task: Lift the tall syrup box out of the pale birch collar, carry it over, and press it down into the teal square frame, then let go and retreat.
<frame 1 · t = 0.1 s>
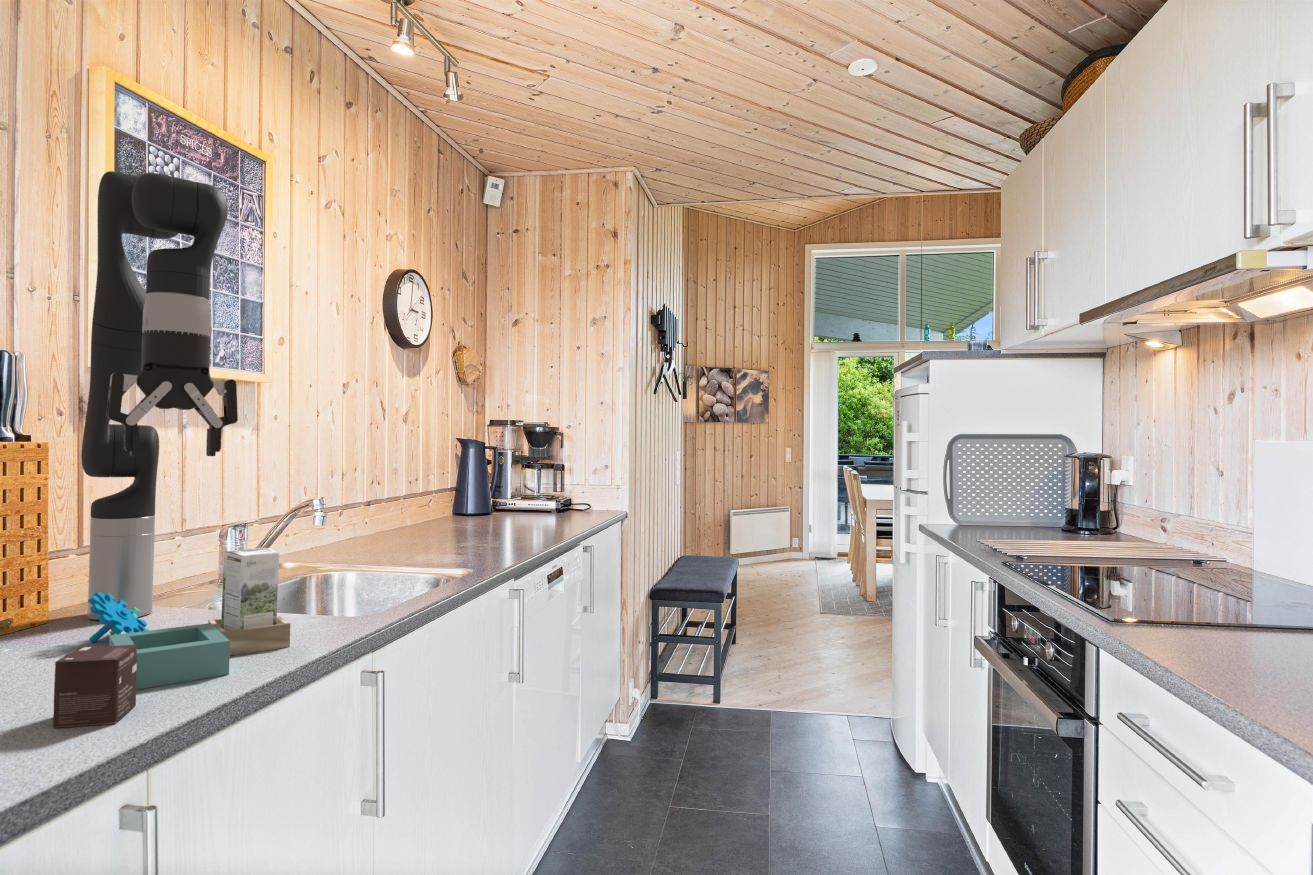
hand: (173, 456, 98), 29 cm above the counter, fingers open, 8 cm apart
teal square frame: (168, 671, 101), on the counter
gear: (119, 641, 116), on the counter
box: (95, 719, 85), on the counter
stand collar: (248, 644, 115), on the counter
syrup box: (248, 646, 115), resting in stand collar
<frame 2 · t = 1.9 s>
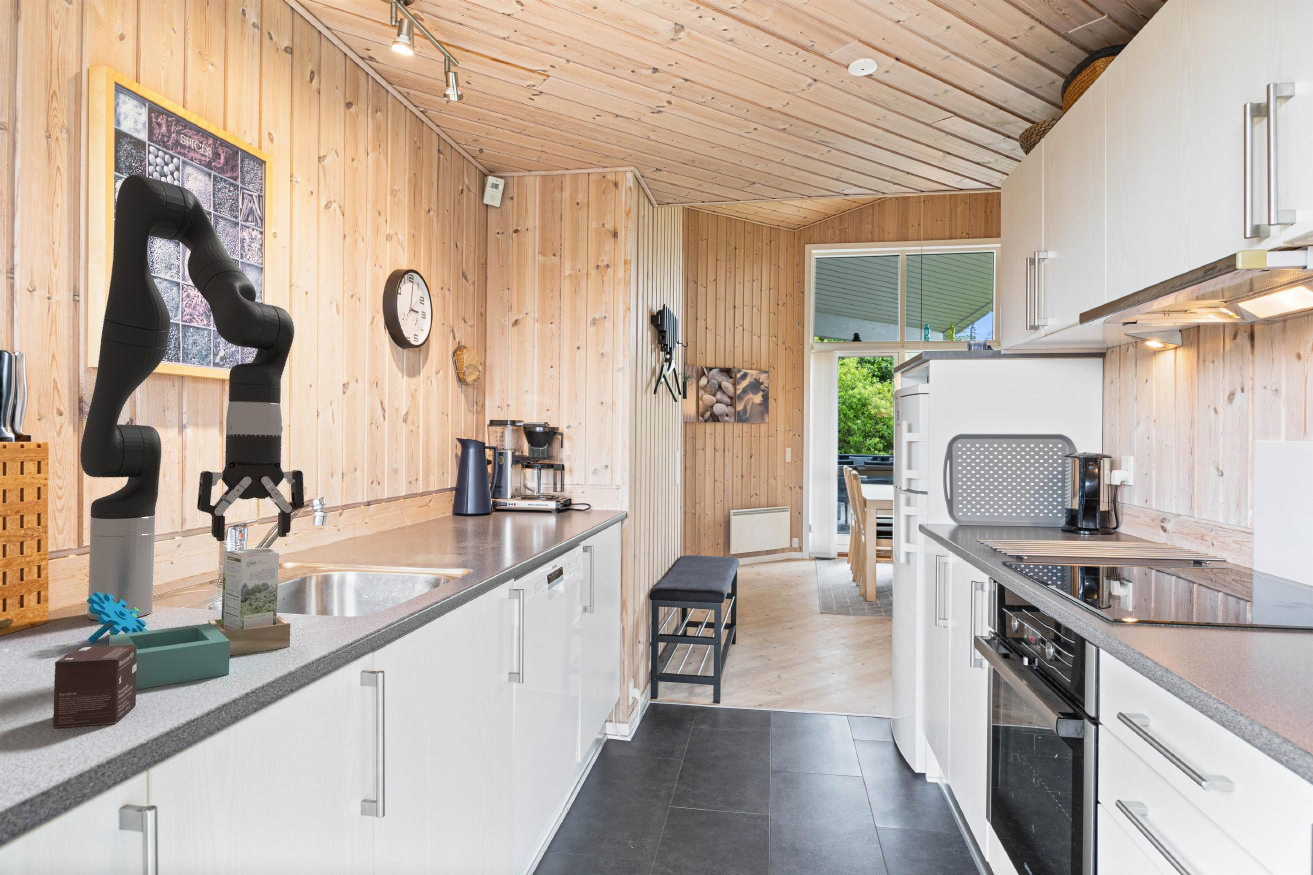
hand: (251, 538, 115), 16 cm above the counter, fingers open, 8 cm apart
nothing on the counter moved.
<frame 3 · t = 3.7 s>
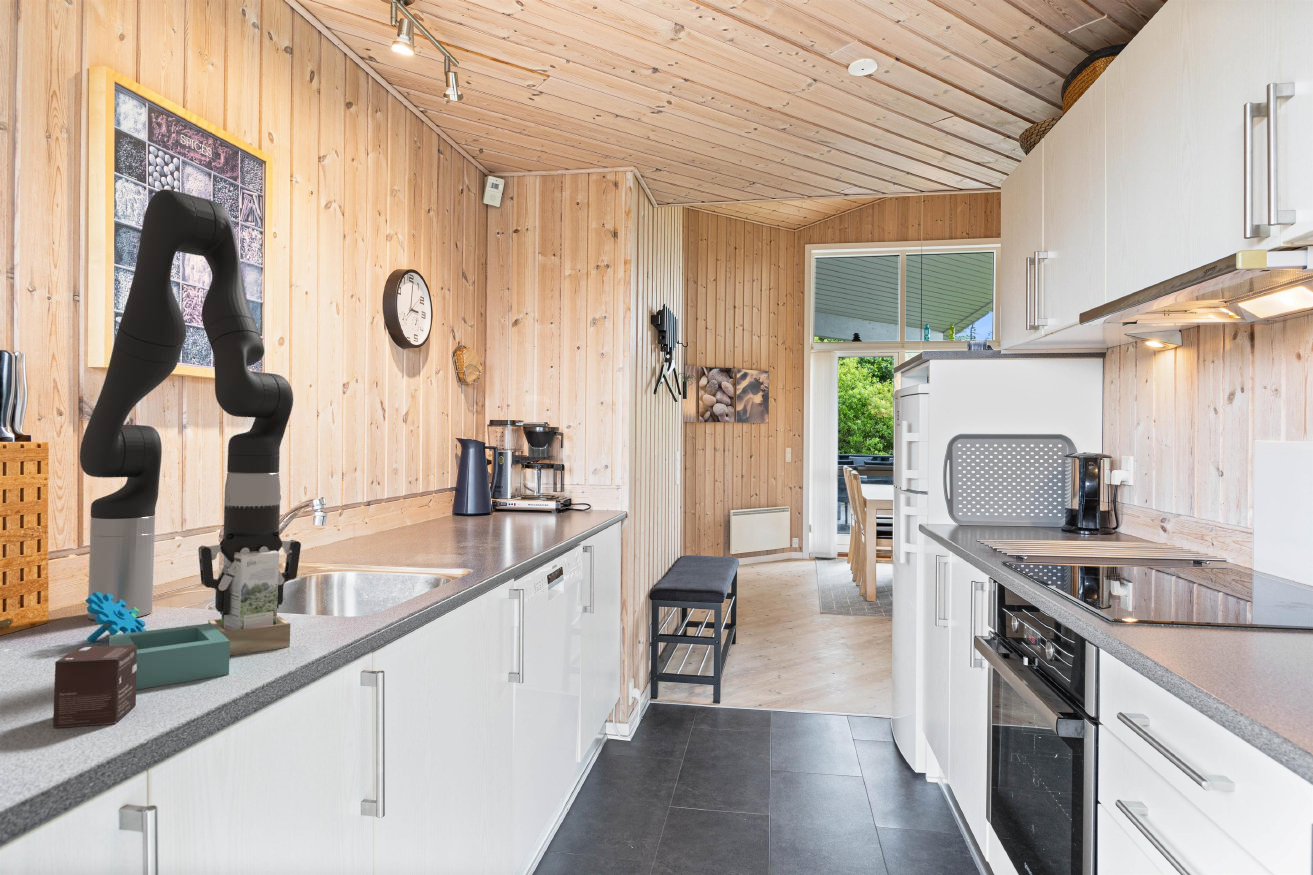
hand: (249, 610, 115), 5 cm above the counter, fingers closed on syrup box, 6 cm apart
syrup box: (248, 646, 115), resting in stand collar, touching gripper
everything else where it was.
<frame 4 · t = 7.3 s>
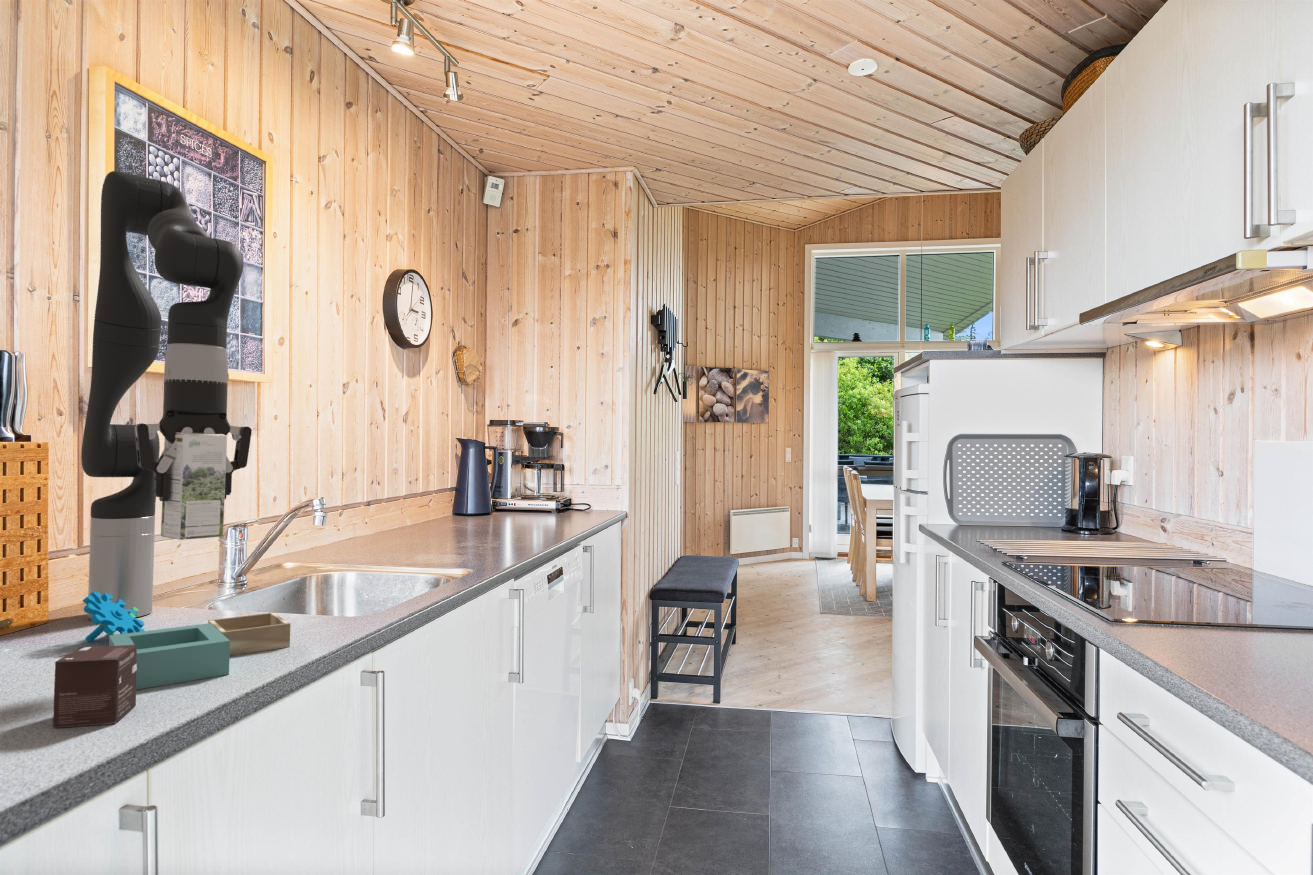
hand: (193, 499, 104), 23 cm above the counter, fingers closed on syrup box, 6 cm apart
syrup box: (192, 538, 104), point 18 cm above the counter, touching gripper
everything else where it was.
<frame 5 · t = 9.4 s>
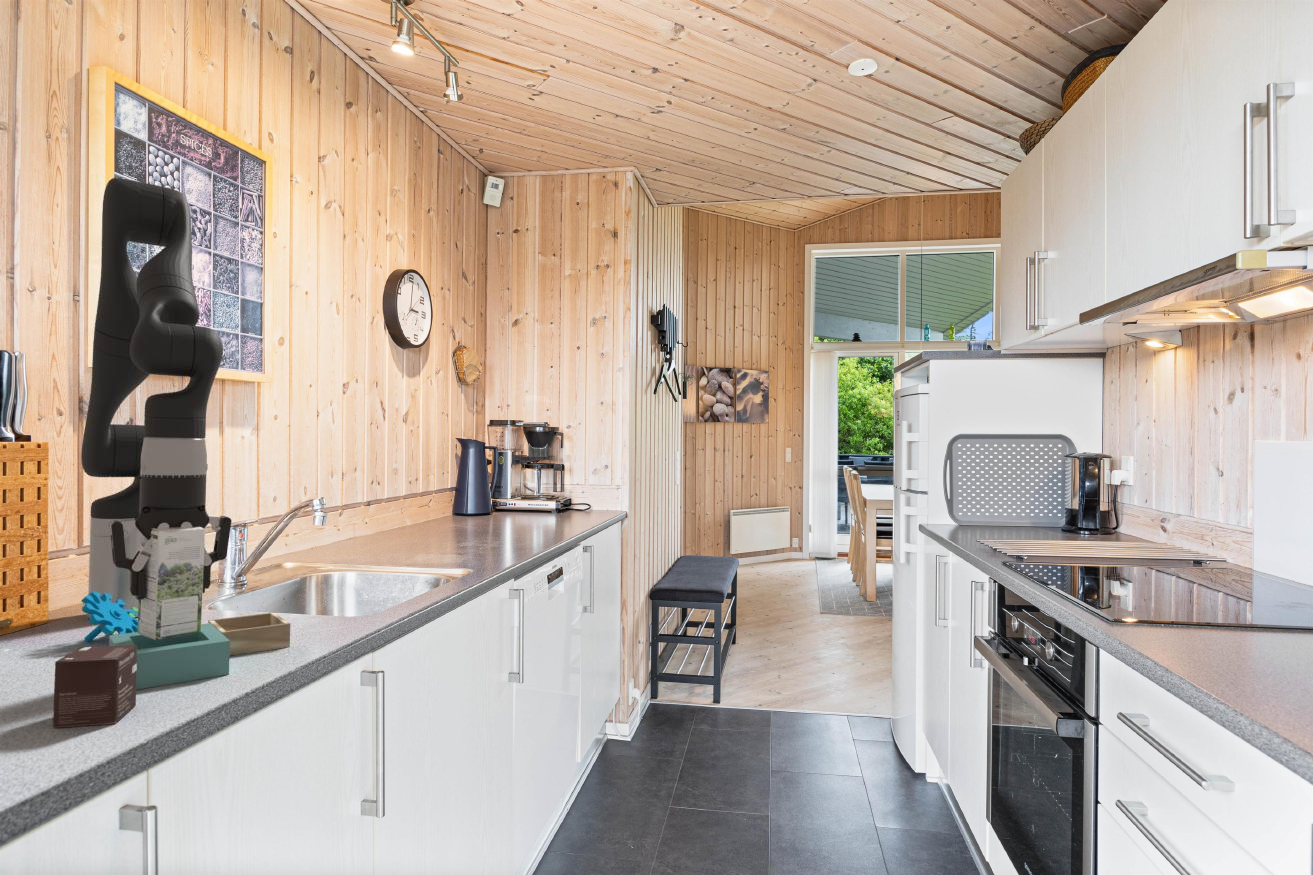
hand: (170, 595, 101), 10 cm above the counter, fingers closed on syrup box, 6 cm apart
syrup box: (169, 635, 101), point 5 cm above the counter, touching gripper
everything else where it was.
when the fingers open (6 cm above the counter, at t = 10.9 s): syrup box stays where it is, resting in teal square frame.
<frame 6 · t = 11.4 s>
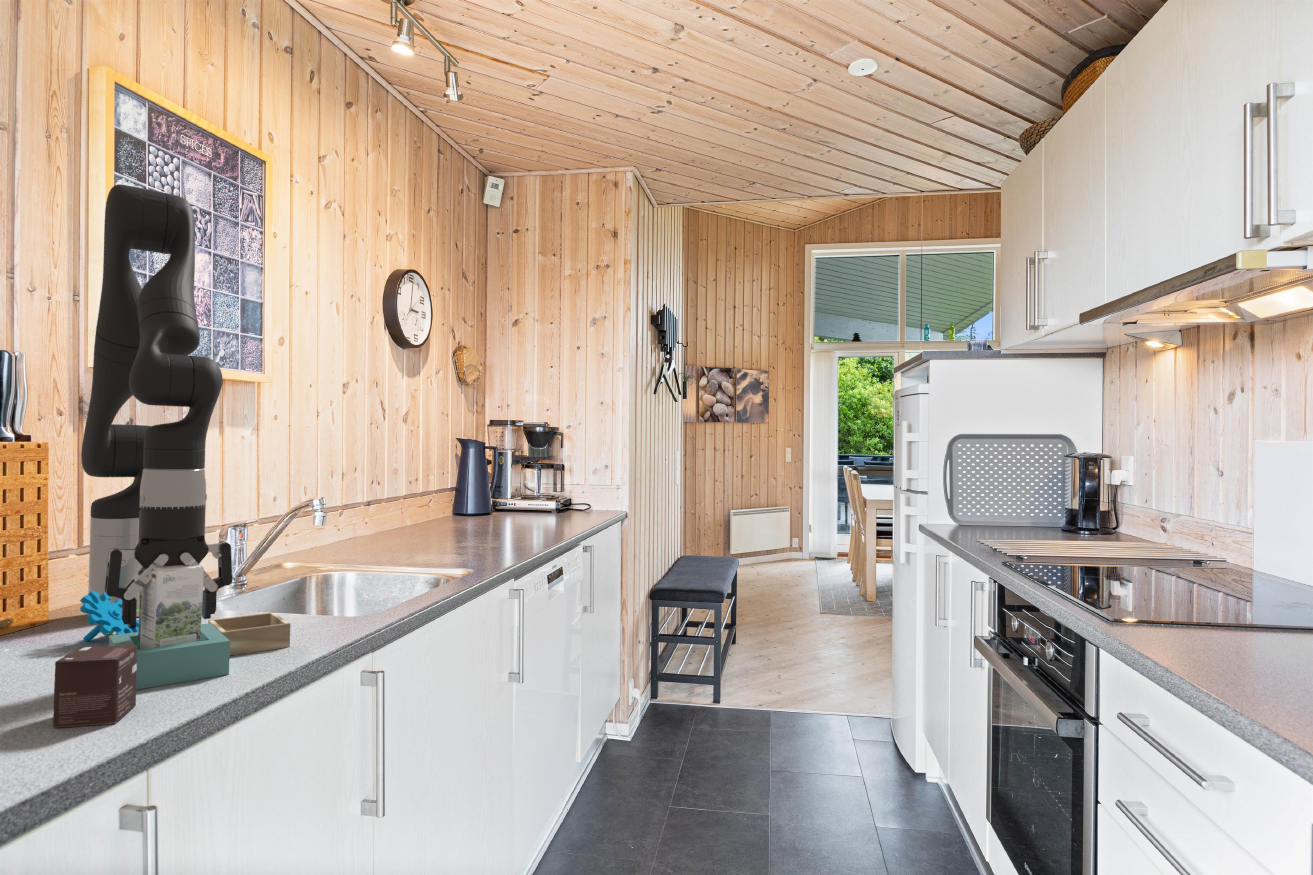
hand: (169, 622, 101), 7 cm above the counter, fingers open, 8 cm apart
syrup box: (168, 672, 101), resting in teal square frame
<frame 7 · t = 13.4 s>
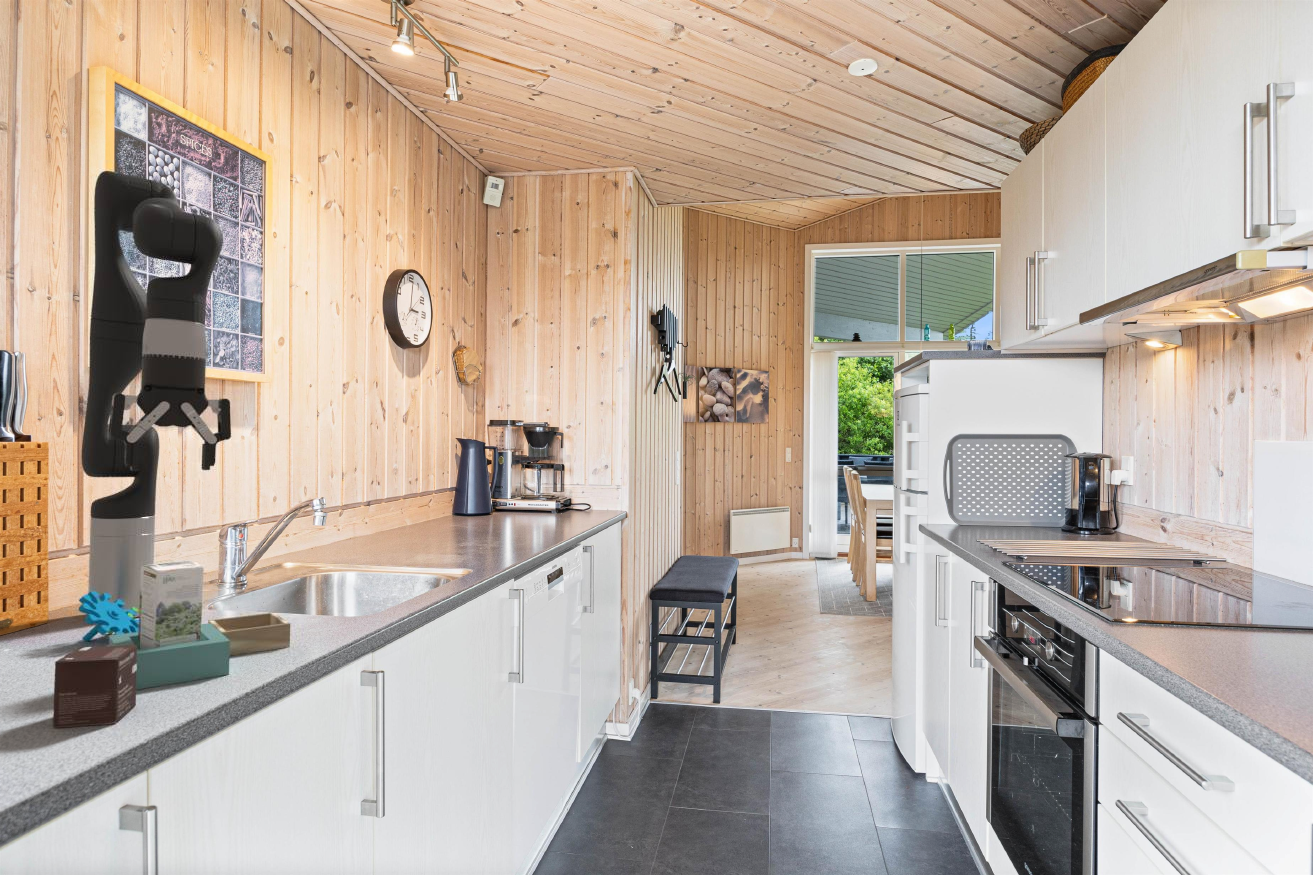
hand: (170, 470, 105), 27 cm above the counter, fingers open, 8 cm apart
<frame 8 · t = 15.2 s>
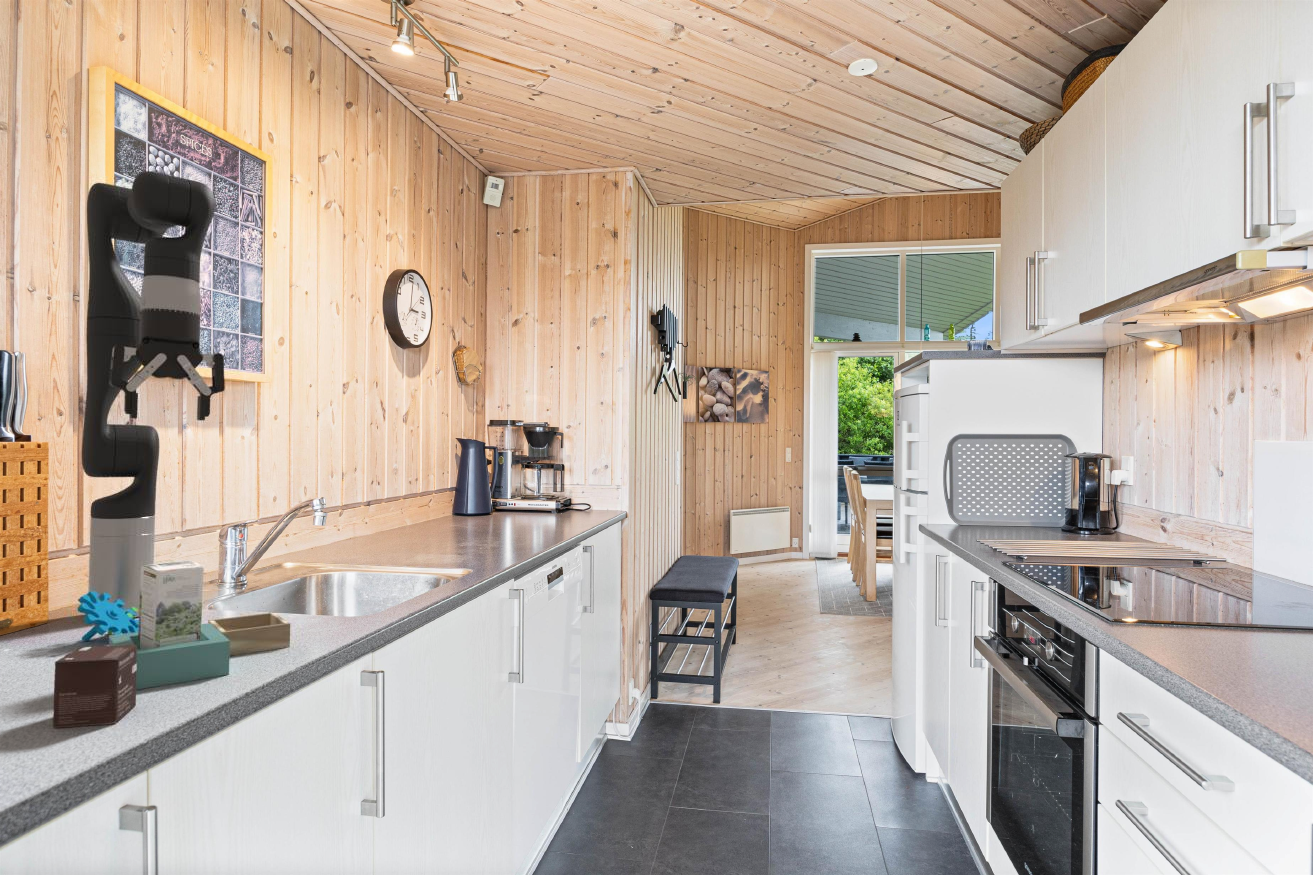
hand: (167, 419, 112), 34 cm above the counter, fingers open, 8 cm apart
at the end: syrup box 0.1 cm off-centre on the teal square frame, point 0.0 cm above the teal square frame's base; syrup box tilted 0°; the gripper is holding nothing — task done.
